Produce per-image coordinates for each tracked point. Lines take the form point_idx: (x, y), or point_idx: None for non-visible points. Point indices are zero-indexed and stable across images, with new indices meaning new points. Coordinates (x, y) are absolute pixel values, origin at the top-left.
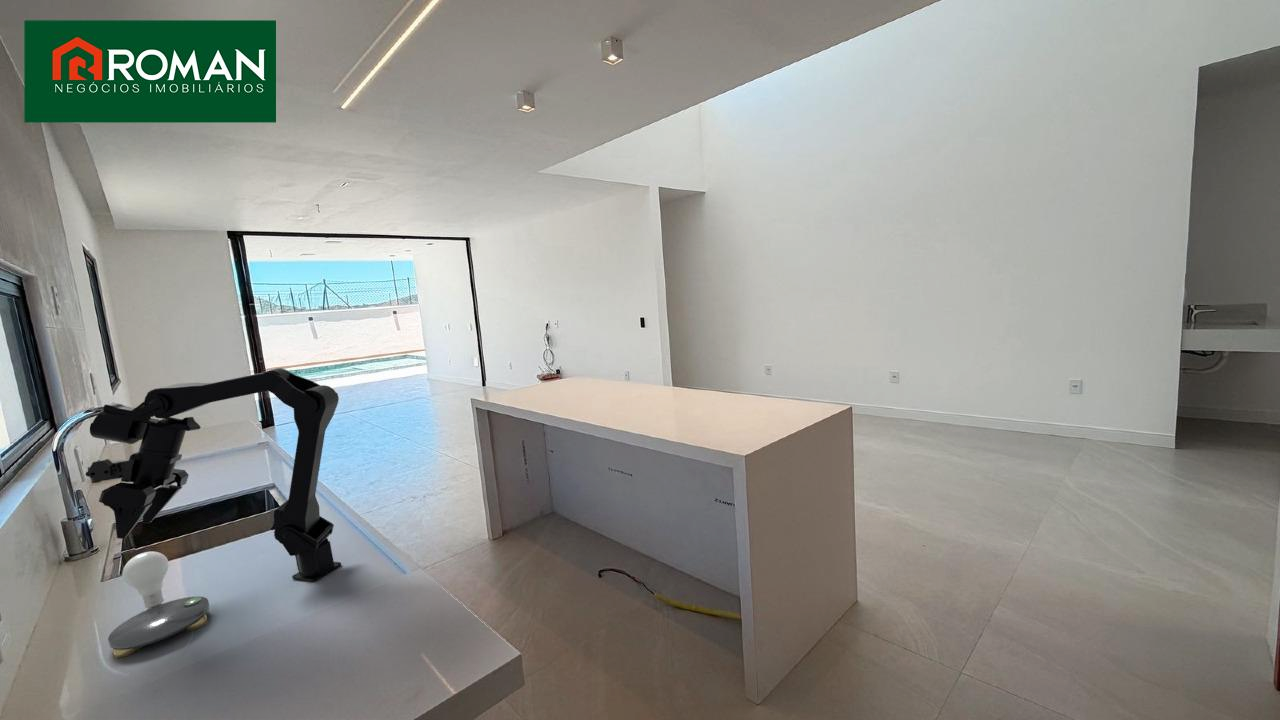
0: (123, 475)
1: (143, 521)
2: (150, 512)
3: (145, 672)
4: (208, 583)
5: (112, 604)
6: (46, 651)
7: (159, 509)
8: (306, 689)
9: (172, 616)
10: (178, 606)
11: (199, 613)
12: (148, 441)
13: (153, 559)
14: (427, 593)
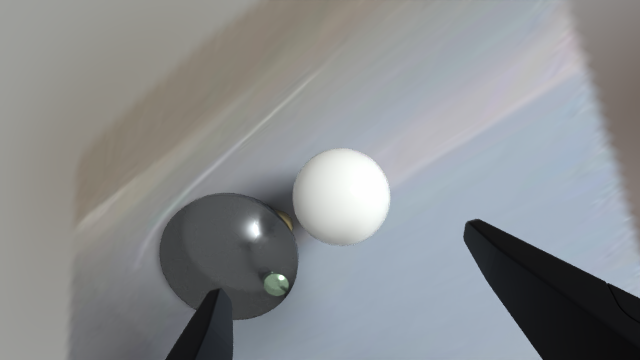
0: None
1: (471, 227)
2: (510, 283)
3: (136, 289)
4: (399, 224)
5: (385, 53)
6: (224, 58)
7: (522, 326)
8: None
9: (231, 278)
10: (265, 267)
11: None
12: None
13: (327, 242)
14: None
